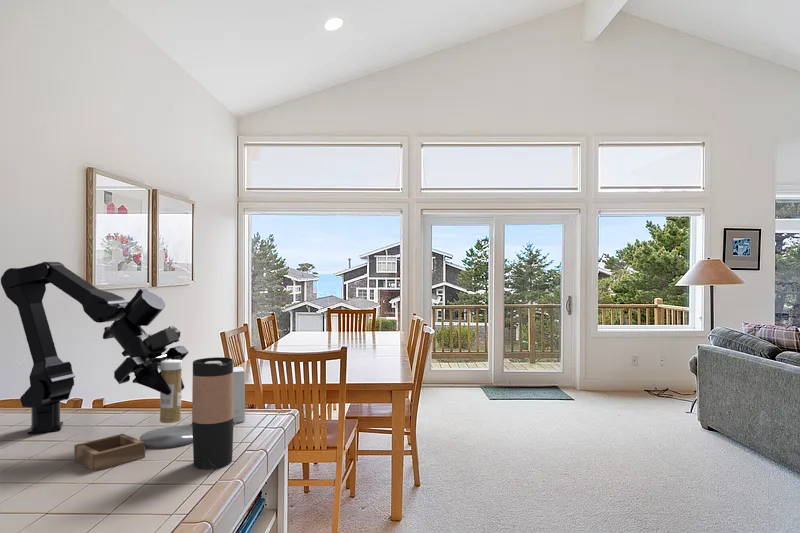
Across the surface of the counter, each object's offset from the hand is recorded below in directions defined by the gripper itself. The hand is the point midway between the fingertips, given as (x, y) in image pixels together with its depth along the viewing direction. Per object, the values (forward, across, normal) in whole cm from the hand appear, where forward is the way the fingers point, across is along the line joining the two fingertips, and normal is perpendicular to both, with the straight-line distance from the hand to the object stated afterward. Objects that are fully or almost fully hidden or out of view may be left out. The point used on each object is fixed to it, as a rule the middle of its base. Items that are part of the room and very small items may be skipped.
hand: (176, 391), depth 119 cm
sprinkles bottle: (+4, 0, +6) cm, 7 cm away
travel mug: (+19, -11, -4) cm, 23 cm away
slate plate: (+7, 0, +8) cm, 11 cm away
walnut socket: (+4, -14, +11) cm, 18 cm away
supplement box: (+10, +17, +5) cm, 20 cm away
